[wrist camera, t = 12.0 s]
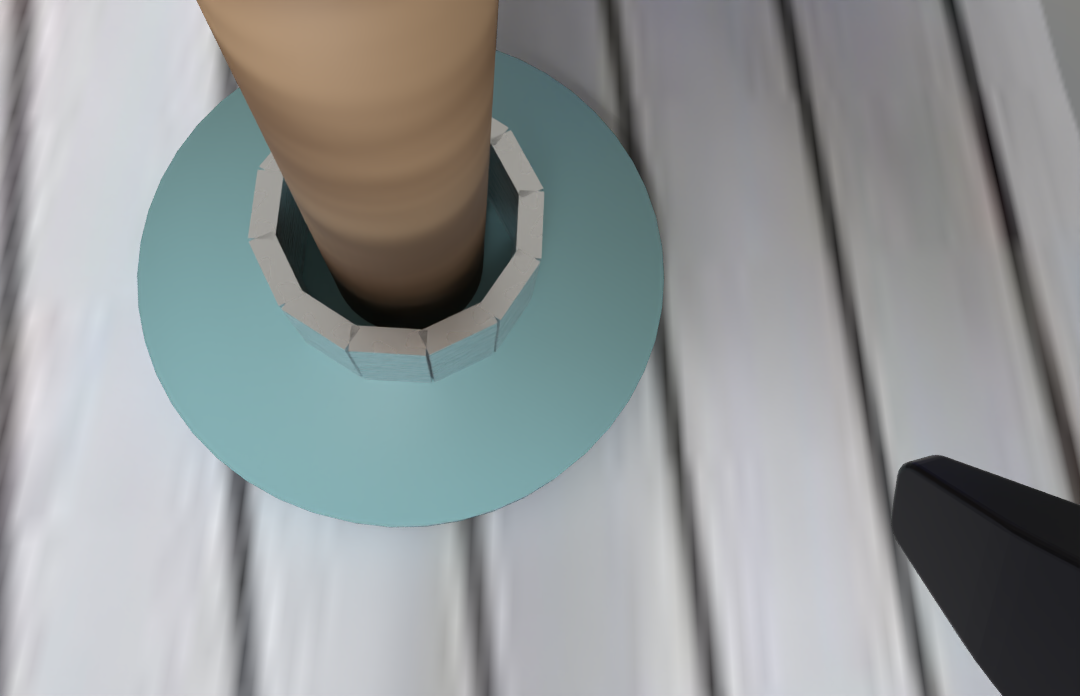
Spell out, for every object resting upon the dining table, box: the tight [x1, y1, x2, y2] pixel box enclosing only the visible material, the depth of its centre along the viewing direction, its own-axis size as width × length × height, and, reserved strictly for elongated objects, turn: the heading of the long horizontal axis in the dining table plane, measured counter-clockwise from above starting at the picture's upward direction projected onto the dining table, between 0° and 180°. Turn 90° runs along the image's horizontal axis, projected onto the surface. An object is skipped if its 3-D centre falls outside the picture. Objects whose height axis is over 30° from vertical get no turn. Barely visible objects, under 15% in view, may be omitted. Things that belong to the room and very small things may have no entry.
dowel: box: [197, 0, 499, 330], centre depth 15 cm, size 4×4×13 cm
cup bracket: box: [137, 50, 664, 527], centre depth 20 cm, size 14×14×4 cm
